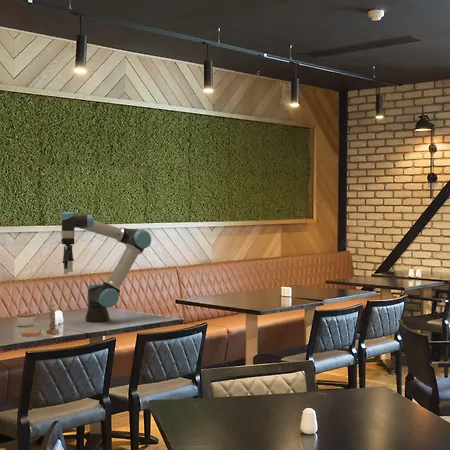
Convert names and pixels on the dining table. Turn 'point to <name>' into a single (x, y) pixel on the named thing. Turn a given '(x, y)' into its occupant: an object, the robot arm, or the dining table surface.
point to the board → (35, 336)
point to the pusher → (52, 322)
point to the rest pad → (52, 335)
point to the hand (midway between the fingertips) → (68, 273)
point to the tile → (31, 333)
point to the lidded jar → (25, 319)
